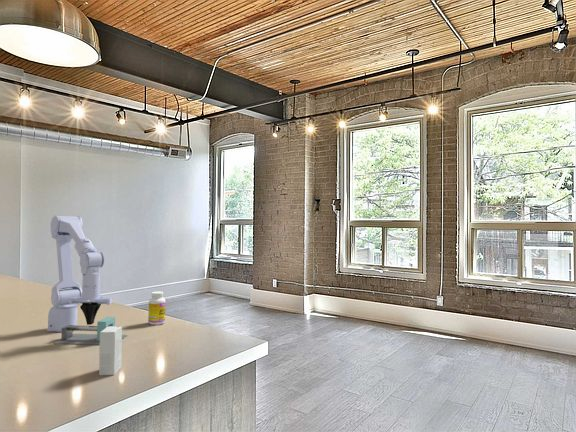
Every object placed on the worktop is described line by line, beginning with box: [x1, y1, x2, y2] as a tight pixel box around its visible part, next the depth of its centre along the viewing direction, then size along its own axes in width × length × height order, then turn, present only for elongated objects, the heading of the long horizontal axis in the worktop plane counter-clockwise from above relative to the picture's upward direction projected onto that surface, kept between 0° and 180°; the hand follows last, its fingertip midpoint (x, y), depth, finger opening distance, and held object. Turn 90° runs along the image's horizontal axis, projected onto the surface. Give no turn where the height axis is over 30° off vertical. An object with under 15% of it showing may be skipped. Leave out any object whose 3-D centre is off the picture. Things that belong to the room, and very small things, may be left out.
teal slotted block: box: [96, 316, 116, 341], centre depth 139 cm, size 3×7×7 cm, turn 178°
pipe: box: [60, 324, 123, 340], centre depth 139 cm, size 20×4×5 cm, turn 88°
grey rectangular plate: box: [53, 333, 128, 346], centre depth 139 cm, size 21×11×1 cm, turn 88°
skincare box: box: [98, 325, 123, 376], centre depth 110 cm, size 6×4×12 cm
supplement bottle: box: [147, 290, 166, 326], centre depth 163 cm, size 7×7×13 cm
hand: (90, 324), depth 139 cm, fingers closed
